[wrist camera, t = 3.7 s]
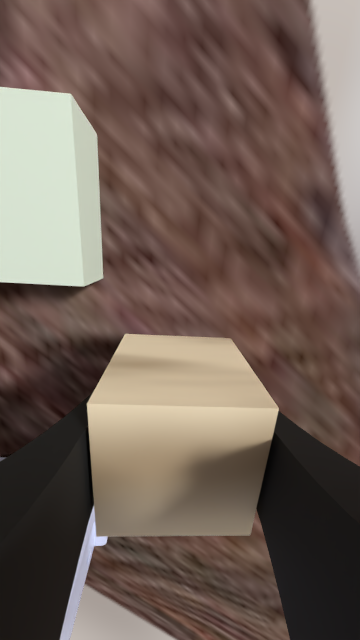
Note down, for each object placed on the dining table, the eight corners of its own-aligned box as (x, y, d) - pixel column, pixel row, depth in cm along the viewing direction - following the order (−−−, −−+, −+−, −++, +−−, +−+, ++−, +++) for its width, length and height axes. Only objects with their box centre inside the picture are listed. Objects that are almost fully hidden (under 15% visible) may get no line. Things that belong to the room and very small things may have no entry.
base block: (103, 278, 13) (84, 286, 10) (-23, 271, 13) (-79, 277, 10) (96, 134, 11) (70, 93, 8) (-54, 120, 11) (-137, 73, 8)
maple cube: (218, 423, 12) (250, 535, 7) (126, 421, 12) (96, 536, 7) (230, 338, 11) (278, 408, 6) (125, 333, 10) (87, 403, 6)
